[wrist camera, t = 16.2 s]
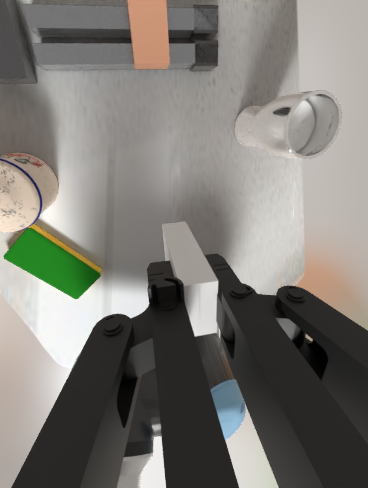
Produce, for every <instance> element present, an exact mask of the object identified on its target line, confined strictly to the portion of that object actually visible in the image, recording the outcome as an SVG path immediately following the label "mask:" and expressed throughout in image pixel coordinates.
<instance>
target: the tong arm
mask: <svg viewBox="0 0 368 488" xmlns="http://www.w3.org/2000/svg"><path fill="white" fill-rule="evenodd" d="M32 46H33V50H34V53H35V57H36V61H37V65H38V66H40V67H42V68H43V69H45V70H114V69H135V67H134V58H133V49H132V43H32ZM169 56H170V64H169V66H168V68H167V69H189V68H190V71H211V70H213V69H214V68H215V67H217V66H218V41H194V42H193V44H169Z"/></svg>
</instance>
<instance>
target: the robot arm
mask: <svg viewBox="0 0 368 488" xmlns="http://www.w3.org/2000/svg"><path fill="white" fill-rule="evenodd" d="M162 230H163V241H164V252H165V261H162V262H155V263H150V265H149V267H148V268H147V273H148V284H149V285H148V296H149V303H150V304H149V306H148V308H147V309H146V310H145V311H144V312H143V313H141V314H140V315H138V316H136V317H133V318H131V319H130V318H129V317H128V316H126V315H123V314H113V315H109V316H107V317H104V318H103V319H101V320H100V321H99V322H98V323H97V324H96V325H95V326H94V328H93V330H92V332H91V334H90V336H89V338H88V340H87V342H86V344H85V345H84V347H83V349H82V351H81V353H80V354H79V356H78V357H77V359H76V361H75V363H74V366H73V368H72V371H71V373H70V375H69V377H68V379H67V380H66V383H65V384H64V386H63V388H62V391H61V392H60V394H59V396H58V398H57V400H56V402H55V404H54V406H53V408H52V410H51V412H50V414H49V416H48V418H47V419H46V422H45V423H44V425H43V427H42V429H41V431H40V433H39V435H38V437H37V439H36V441H35V443H34V445H33V447H32V449H31V451H30V452H29V455H28V456H27V458H26V460H25V462H24V464H23V466H22V468H21V470H20V472H19V474H18V476H17V478H16V480H15V482H14V484H13V486H12V488H140V475H141V472H142V470H143V468H144V467H145V465H146V464H147V463H148V461H149V460H150V459H151V457H152V456H153V438H154V437H156V436H162V446H163V457H164V468H165V479H166V488H239V486H238V483H237V479H236V476H235V472H234V469H233V466H232V462H231V459H230V455H229V452H228V448H227V445H226V442H225V440H226V439H227V438H229V437H230V436H231V435H232V434H233V433H234V432H235V431H236V430H237V429H238V428H239V427H240V425H241V423H242V421H243V419H244V417H245V410H246V409H245V404H246V406H247V409H248V411H249V414H250V416H251V419H252V421H253V424H254V426H255V429H256V431H257V434H258V436H259V439H260V441H261V444H262V446H263V449H264V451H265V454H266V456H267V459H268V461H269V464H270V466H271V469H272V471H273V474H274V476H275V479H276V481H277V484H278V486H279V488H368V331H367V330H366V329H364V328H363V327H361V326H360V325H358V324H357V323H355V322H353V321H352V320H351V319H349V318H347V317H346V316H345V315H343V314H342V313H340V312H338V311H337V310H336V309H334V308H332V307H331V306H329V305H328V304H326V303H325V302H323V301H322V300H320V299H319V298H317V297H316V296H314V295H313V294H311V293H310V292H308V291H306V290H305V289H303V288H299V287H296V286H283V287H281V288H279V289H278V291H277V294H276V296H275V295H262V294H257V293H256V292H255V290H254V289H253V288H252V287H250V286H248V285H246V284H242V283H241V282H240V281H239V279H238V278H237V276H236V275H235V273H234V272H233V270H232V269H231V267H230V266H229V265H228V263H227V262H226V260H225V259H224V258H223V257H222V256H220V255H218V254H210V255H204V254H203V252H202V250H201V248H200V247H199V245H198V243H197V241H196V239H195V237H194V236H193V234H192V232H191V230H190V228H189V226H188V225H187V223H186V221H184V222H175V223H166V224H162ZM219 329H220V331H221V335H220V338H219ZM306 334H307V335H308V336H310V337H311V338H312V339H313V341H310V340H308V339H307V338H306V337H305V336H306ZM244 401H245V402H244Z"/></svg>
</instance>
